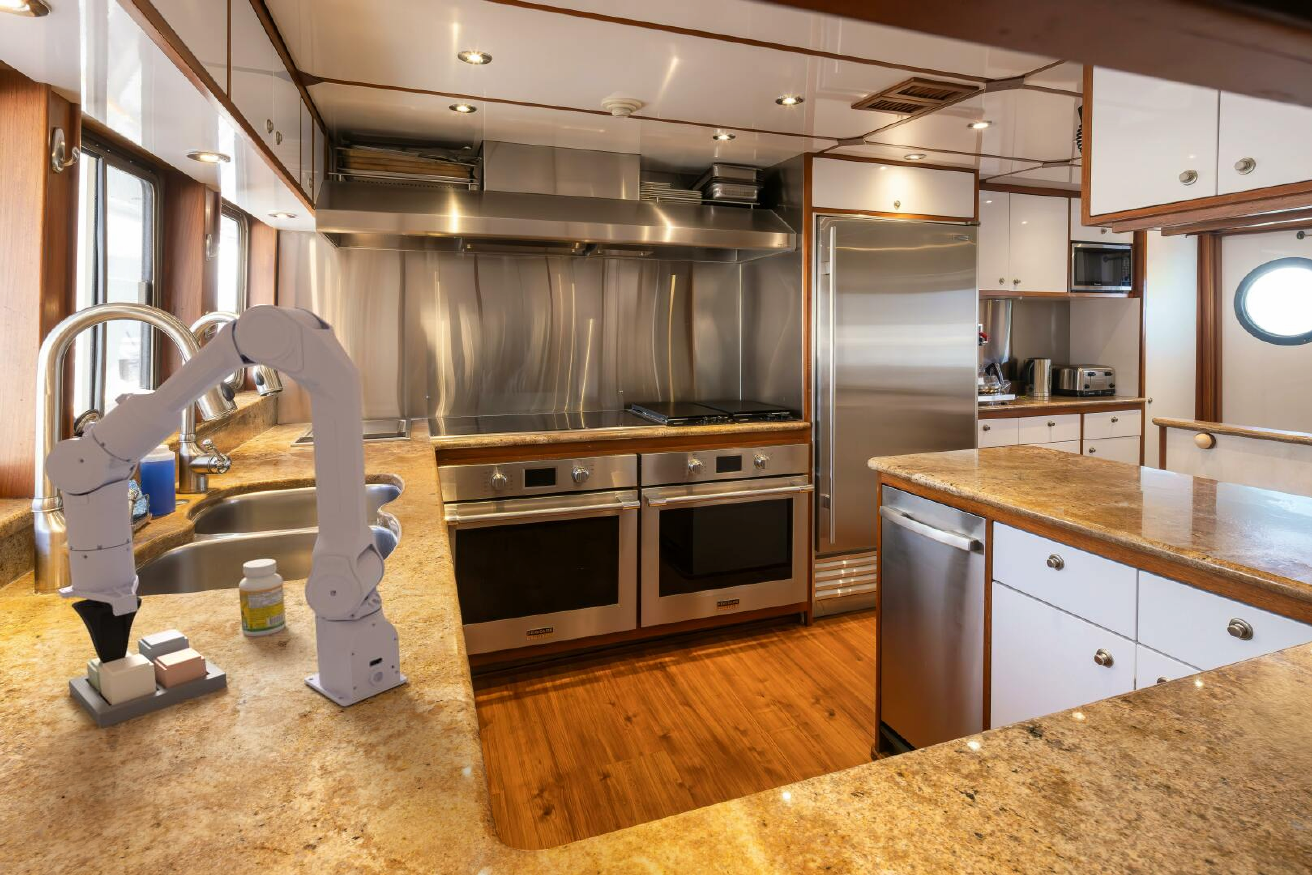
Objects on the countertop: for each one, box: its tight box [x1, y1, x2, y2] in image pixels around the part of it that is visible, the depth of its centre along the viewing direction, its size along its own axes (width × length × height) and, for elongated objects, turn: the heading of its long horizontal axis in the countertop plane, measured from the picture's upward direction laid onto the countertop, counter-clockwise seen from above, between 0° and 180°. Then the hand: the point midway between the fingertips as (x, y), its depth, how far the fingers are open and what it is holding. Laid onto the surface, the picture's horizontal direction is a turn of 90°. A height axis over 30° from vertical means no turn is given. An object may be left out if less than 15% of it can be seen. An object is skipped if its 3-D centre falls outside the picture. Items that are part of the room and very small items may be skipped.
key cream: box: [99, 653, 156, 706], centre depth 79 cm, size 4×4×4 cm
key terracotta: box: [153, 647, 207, 689], centre depth 83 cm, size 4×4×4 cm
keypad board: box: [68, 646, 228, 730], centre depth 83 cm, size 12×12×2 cm
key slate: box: [137, 628, 190, 663], centre depth 86 cm, size 4×4×4 cm
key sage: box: [86, 650, 134, 692], centre depth 83 cm, size 4×4×4 cm
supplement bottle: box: [238, 558, 287, 637], centre depth 100 cm, size 5×5×10 cm
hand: (112, 659), depth 82 cm, fingers closed, pressing on key sage
